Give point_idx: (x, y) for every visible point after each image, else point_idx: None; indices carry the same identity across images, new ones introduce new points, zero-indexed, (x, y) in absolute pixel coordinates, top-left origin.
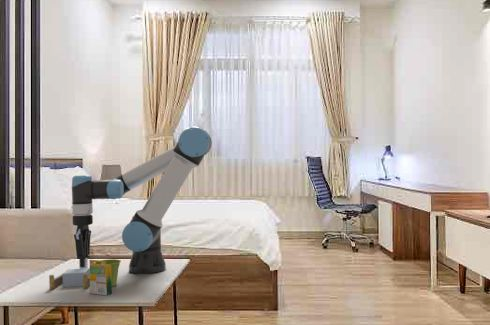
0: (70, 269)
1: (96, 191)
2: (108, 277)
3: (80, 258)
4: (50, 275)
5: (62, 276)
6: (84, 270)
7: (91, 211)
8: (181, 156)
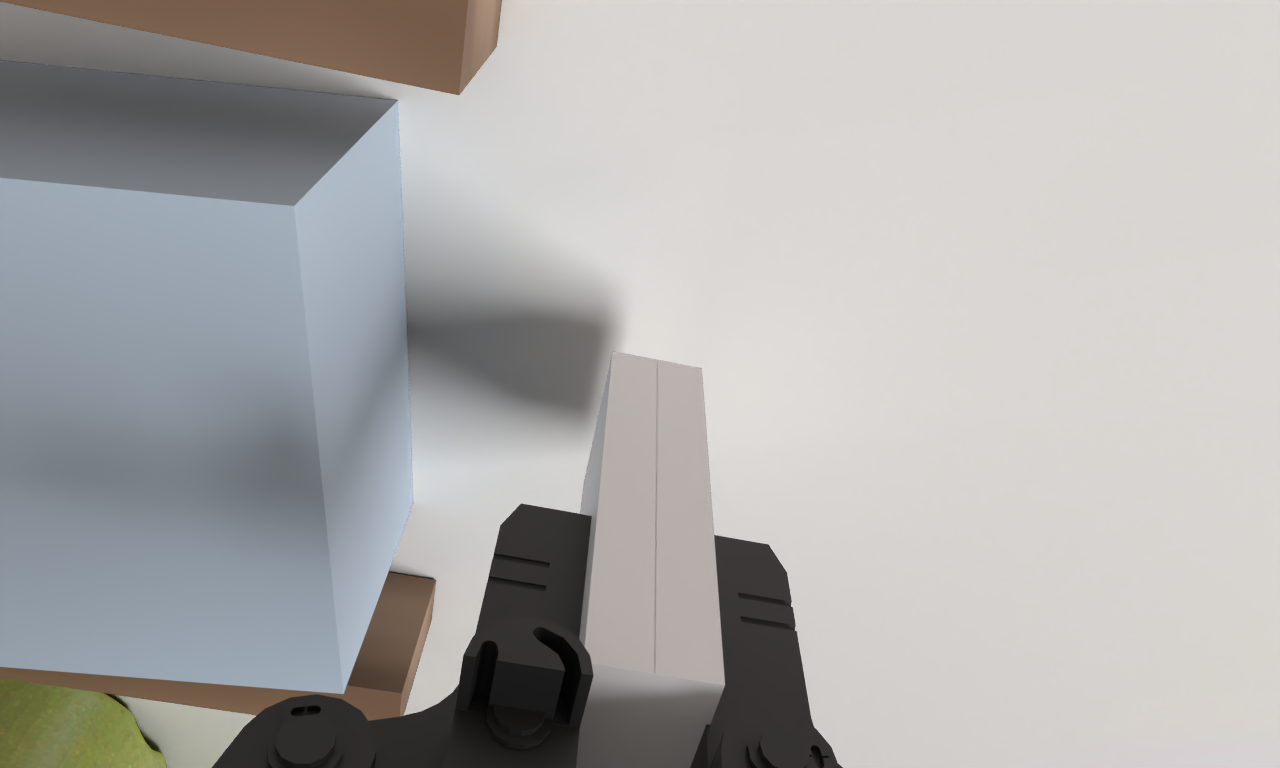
0: (253, 279)
1: None
2: None
3: (422, 731)
4: None
5: (98, 14)
6: (80, 623)
7: None
8: None
